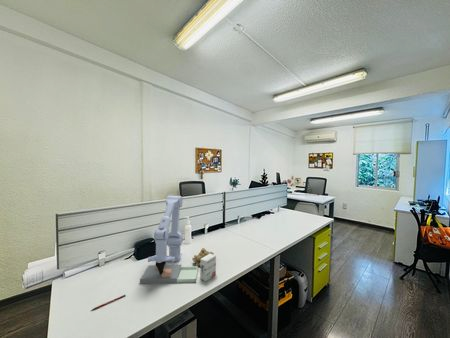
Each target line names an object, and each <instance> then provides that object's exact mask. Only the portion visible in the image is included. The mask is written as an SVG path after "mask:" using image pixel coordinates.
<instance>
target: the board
mask: <svg viewBox="0 0 450 338" xmlns="http://www.w3.org/2000/svg"><path fill="white" fill-rule="evenodd" d="M155 267H156V265H154V264H149V265H148V266H147V267H146V269H145V270H144V271H143V272H144V273H143V274H142V275H141V276H140V279H139V284H141V285H142V284H144V285H145V284H178V283H177V279H178V277H179V274H180V271H181V267H182V264H165V267H164V269H172V273H171V276H170V277H162V275H160V274H159V270H155ZM164 269H163V270H164Z"/></svg>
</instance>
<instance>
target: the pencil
mask: <svg viewBox="0 0 450 338" xmlns="http://www.w3.org/2000/svg"><path fill="white" fill-rule="evenodd" d="M125 297H127V296H126V294H124V295H123V294H122V295H121V296H119V297H117V298H114V299H112V300H109V301H107V302H104V303H102V304H100V305H97V306H96V307H93V308H92V309H91V310H90V312H92V311H96V310H98V309H100V308H103V307H105V306H107V305H109V304H111V303H114V302H116V301H119V300H121V299H123V298H125Z"/></svg>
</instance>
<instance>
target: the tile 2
mask: <svg viewBox="0 0 450 338" xmlns="http://www.w3.org/2000/svg"><path fill="white" fill-rule="evenodd" d="M171 273H172V269H164V270H163V272H162V277H170V276H171Z"/></svg>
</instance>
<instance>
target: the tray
mask: <svg viewBox="0 0 450 338" xmlns="http://www.w3.org/2000/svg"><path fill="white" fill-rule="evenodd" d="M198 272H199V265H198V266H196V265H195V266H193V265H192V266H191V265H190V266H189V265H188V266H185V265H184V266H182V265H181V271H180V274H179V277H178V279H177V283H176V284H179V283H180V284H184V283H185V284H186V283H189V284H190V283H191V284H192V283H193V284H194V283H197V278H198V277H197V276H198Z"/></svg>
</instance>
